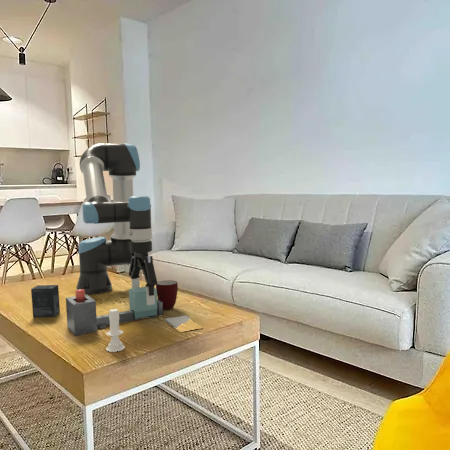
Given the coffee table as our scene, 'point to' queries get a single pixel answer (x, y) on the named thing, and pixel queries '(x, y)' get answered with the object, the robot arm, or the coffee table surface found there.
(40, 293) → the box
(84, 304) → the gray button box
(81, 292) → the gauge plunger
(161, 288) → the mug
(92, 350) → the coffee table surface
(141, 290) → the block
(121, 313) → the rail
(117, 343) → the candle
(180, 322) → the smartphone
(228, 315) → the coffee table surface
